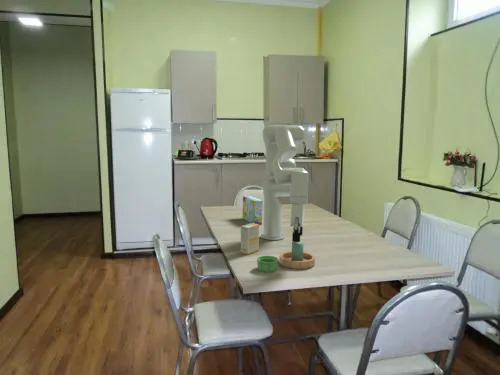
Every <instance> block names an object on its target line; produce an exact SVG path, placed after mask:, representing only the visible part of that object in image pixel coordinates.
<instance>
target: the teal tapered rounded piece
mask: <svg viewBox="0 0 500 375" xmlns="http://www.w3.org/2000/svg"><path fill="white" fill-rule="evenodd" d="M304 245H305V244H304V242H303V241H300V242H293V241H292V242H291V251H292V257H291V261H303V252H304Z"/></svg>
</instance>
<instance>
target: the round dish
mask: <svg viewBox="0 0 500 375" xmlns="http://www.w3.org/2000/svg"><path fill="white" fill-rule="evenodd" d="M291 257H292V250H291V251H290V250H289V251H285V252H282V253H280V255H279V258H278V259H279V260H278V263H279V264H280V265H281V266H282V267H285V268H288V269H293V270H304V269H310V268H313V267H314V266H315V264H316V256H315V255H314V254H312V253H309V252H306V251H303V261H291Z"/></svg>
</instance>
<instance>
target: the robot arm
mask: <svg viewBox="0 0 500 375" xmlns="http://www.w3.org/2000/svg"><path fill="white" fill-rule="evenodd" d="M262 138H263V143H264V146H265V173H266V175H268V176H269V177H273V178H268V179H265V180H264V181H263V183H262V193H263V233H261V234H260V238H261V239H263V240H267V241H279V240H283V239H284V238H285V234H283V233H282V226H283V224H282V222H283V221H282V220H283V219H282V218H283V205H282V202H281V201H280V199H279V198H281V197H283V198H284V197H289V203H290V204H291V210H290V223H289V224H290V228H291V227H292V228H293V229H292V234H291V235H292V236H291V237H292V238H291V239H292V242H301V237H302V236H303V230H304V229H303V228H304V227H303V224H304V220H305V205H307V204H308V203H309V202H308V201H309V197H308V196H309V182H310V181H309V180H310V179H309V178H310V175H309V174H310V173H309V172H308V171H307V170H306V169H305V168H303V167H297V164H296V160H295V159H294V157H295V156H296V155H297V153H298V147H297V145H296V144H302V143H303V142H304V141H305V138H306V132H305V128H304V127H303V126H302V125H297V124H296V125H294V124H290V125H288V124H271V125H270V124H269V125H266V126H265V127H264V128H263V130H262ZM278 197H279V198H278Z"/></svg>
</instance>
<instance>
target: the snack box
mask: <svg viewBox="0 0 500 375" xmlns="http://www.w3.org/2000/svg"><path fill="white" fill-rule="evenodd" d="M263 205H264V200H262V199H260V198H258V197H254V196H252V195H243V196H242V219H244V220H245V221H246V222H248V223H249V224H250V223H254V224H259V226H261V225H262V224H263V222H262V221H263Z"/></svg>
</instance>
